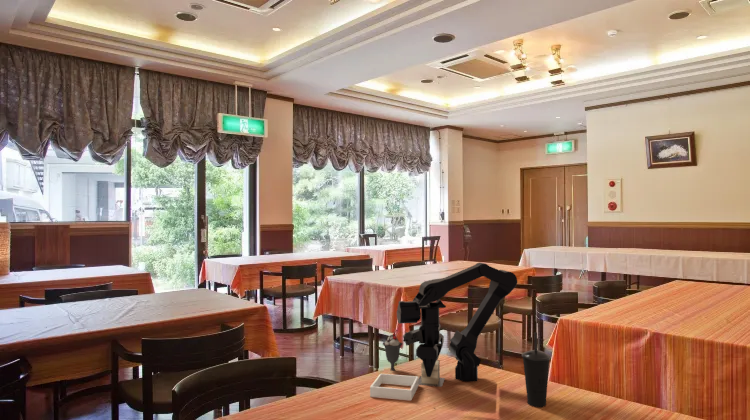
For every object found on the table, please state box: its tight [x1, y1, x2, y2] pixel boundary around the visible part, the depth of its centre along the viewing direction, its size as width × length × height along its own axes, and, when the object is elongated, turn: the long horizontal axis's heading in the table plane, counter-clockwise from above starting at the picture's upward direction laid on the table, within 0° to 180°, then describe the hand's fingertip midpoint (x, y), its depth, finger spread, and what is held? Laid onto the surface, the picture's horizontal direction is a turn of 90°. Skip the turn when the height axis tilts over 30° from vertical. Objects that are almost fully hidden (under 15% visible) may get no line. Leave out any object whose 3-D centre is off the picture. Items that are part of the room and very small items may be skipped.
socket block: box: [420, 359, 441, 385], centre depth 149 cm, size 5×5×6 cm
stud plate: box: [418, 375, 446, 388], centre depth 149 cm, size 8×8×5 cm
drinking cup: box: [521, 331, 552, 408], centre depth 134 cm, size 8×8×20 cm
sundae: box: [382, 329, 404, 372], centre depth 161 cm, size 7×7×15 cm
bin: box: [369, 373, 420, 401], centre depth 141 cm, size 12×12×4 cm
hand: (430, 371), depth 149 cm, fingers open, 9 cm apart
